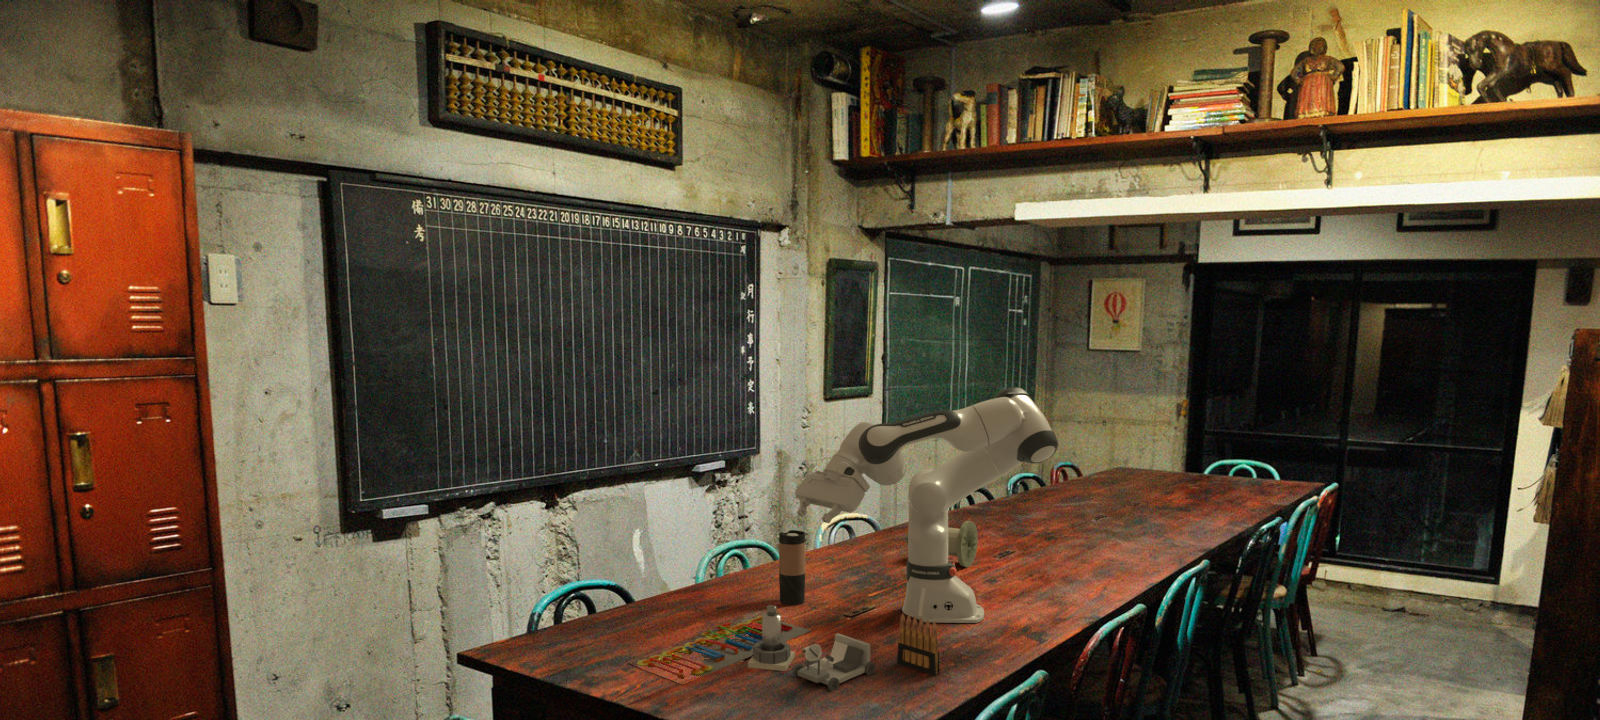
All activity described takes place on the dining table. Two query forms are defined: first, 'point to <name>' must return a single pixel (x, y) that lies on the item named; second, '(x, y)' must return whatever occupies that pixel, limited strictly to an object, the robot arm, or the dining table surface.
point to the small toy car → (836, 662)
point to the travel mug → (792, 567)
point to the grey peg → (771, 629)
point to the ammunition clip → (918, 646)
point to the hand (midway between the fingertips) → (812, 518)
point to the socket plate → (771, 657)
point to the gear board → (721, 646)
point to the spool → (963, 543)
